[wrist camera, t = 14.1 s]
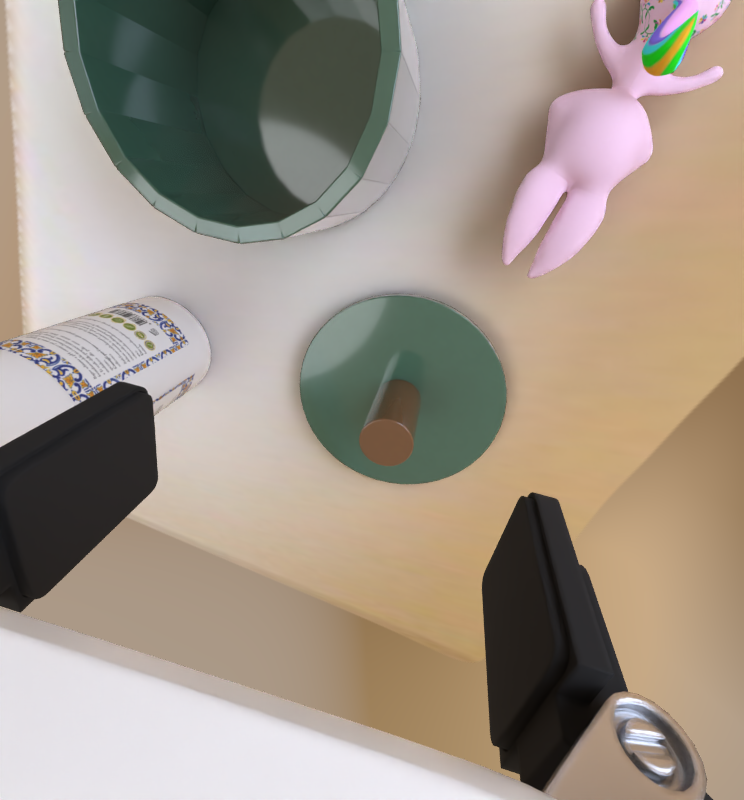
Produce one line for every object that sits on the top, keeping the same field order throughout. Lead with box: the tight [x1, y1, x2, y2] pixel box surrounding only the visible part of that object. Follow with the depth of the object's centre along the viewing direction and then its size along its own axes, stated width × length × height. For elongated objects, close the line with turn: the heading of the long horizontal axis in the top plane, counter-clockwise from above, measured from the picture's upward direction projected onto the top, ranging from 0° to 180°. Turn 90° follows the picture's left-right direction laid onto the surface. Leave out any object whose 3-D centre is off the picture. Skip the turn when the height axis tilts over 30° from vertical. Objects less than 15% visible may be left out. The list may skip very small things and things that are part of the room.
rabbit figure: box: [502, 0, 731, 278], centre depth 18 cm, size 6×6×15 cm
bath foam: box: [0, 297, 211, 447], centre depth 21 cm, size 7×7×20 cm
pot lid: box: [300, 294, 507, 484], centre depth 26 cm, size 14×14×7 cm
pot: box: [58, 0, 421, 244], centre depth 18 cm, size 13×13×8 cm
